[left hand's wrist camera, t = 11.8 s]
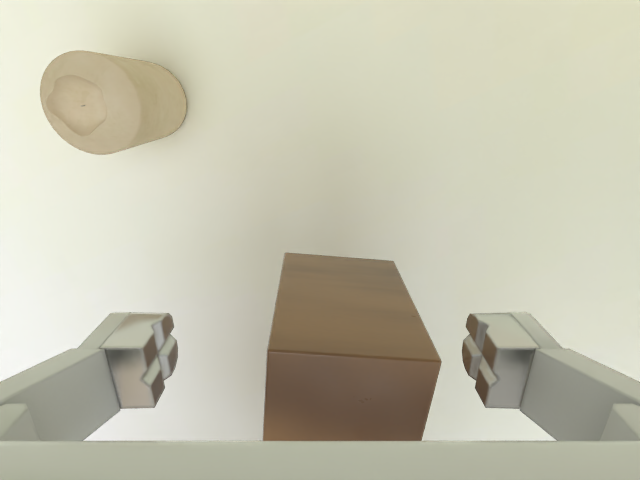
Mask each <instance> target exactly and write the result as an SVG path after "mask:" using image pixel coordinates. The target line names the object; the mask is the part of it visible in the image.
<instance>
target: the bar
mask: <svg viewBox="0 0 640 480" xmlns="http://www.w3.org/2000/svg"><path fill="white" fill-rule="evenodd" d="M440 366H441V359H440V357H439V355H438V353H437V351H436V349H435V347H434V345H433V342H432V340H431V338H430V336H429V334H428V332H427V330H426V328H425V326H424V324H423V322H422V320H421V318H420V315H419V313H418V311H417V309H416V307H415V305H414V303H413V301H412V299H411V297H410V295H409V293H408V290H407V288H406V286H405V284H404V282H403V280H402V278H401V276H400V274H399V272H398V270H397V268H396V266H395V263H394V261H387V260H374V259H361V258H348V257H335V256H322V255H309V254H296V253H285V254H284V260H283V265H282V271H281V276H280V282H279V287H278V293H277V298H276V304H275V310H274V315H273V321H272V326H271V332H270V337H269V343H268V348H267V362H266V383H265V403H264V424H263V441H421V440H422V436H423V433H424V429H425V425H426V421H427V417H428V413H429V409H430V405H431V401H432V397H433V394H434V390H435V386H436V382H437V378H438V374H439V370H440Z"/></svg>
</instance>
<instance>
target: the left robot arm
mask: <svg viewBox="0 0 640 480" xmlns="http://www.w3.org/2000/svg"><path fill="white" fill-rule="evenodd" d="M173 328H174V323H173V319H172V316H171V315H170V314H169V313H138V312H133V313H131V312H115V313H111V314H109V315H108V316H107V318H106V319H105V320H104V321H103V322H102V323H101V324H100V325H99V326H98V327H97V328H96V329H95V330H94V331H93V332H92V333H91V334H90V335H89V337H88V338H87V339H86V340H85V341H84V342H83V343H82V344H81V345H80V346H79V347H78V348H77V349H69V350H67V351H65V352H63V353H61V354H59V355H57V356H54V357H52V358H50V359H48V360H46V361H44V362H42V363H40V364H37V365H35V366H33V367H31V368H29V369H27V370H25V371H23V372H20V373H18V374H16V375H14V376H12V377H10V378H8V379H6V380H3V381H1V382H0V480H640V382H639V381H636V380H634V379H632V378H630V377H628V376H626V375H624V374H622V373H619V372H617V371H615V370H613V369H611V368H609V367H607V366H605V365H602V364H600V363H598V362H596V361H594V360H592V359H590V358H588V357H586V356H583V355H581V354H579V353H577V352H575V351H573V350H571V349H563V348H562V347H561V346H560V345H559V344H558V343H557V342H556V341H555V340H554V339H553V338H552V336H551V335H550V334H549V333H548V332H547V331H546V330H545V329H544V328H543V327H542V326H541V325H540V324H539V323H538V322H537V321H536V320H535V319H534V317H533V316H532V315H531V314H529V313H527V312H512V313H480V314H469V316H468V318H467V323H466V328H467V330H468V331H469V333H470V334H469V335H468V336H467V337H466V338H465V339H464V340H463V347H462V356H463V363H464V366H465V369H466V371H467V373H468V375H469V376H470V377H472V378H473V379H475V380H476V386H475V389H476V391H477V392H478V394H479V396H480V398H481V400H482V402H483V404H484V406H485V408H514V409H520V411H521V412H522V413H524V414H525V415H526V416H527V417H529V418H530V419H531V420H532V421H534V422H535V423H536V424H537V425H538V426H540V427H541V428H542V429H543V430H545V431H546V432H547V433H548V434H550V435H551V436H552V437H553V438H554V439H556V440H557V441H83V440H84V439H86V438H87V437H88V436H89V435H91V434H92V433H93V432H94V431H96V430H97V429H98V428H99V427H100V426H102V425H103V424H104V423H105V422H107V421H108V420H109V419H110V418H112V417H113V416H114V415H115V414H116V413H118V412H119V411H120V409H126V408H155V406H156V404H157V402H158V400H159V398H160V396H161V394H162V392H163V391H164V389H165V386H164V380H165V379H167V378H168V377H170V376H171V375H172V373H173V371H174V369H175V367H176V362H177V358H178V346H177V340H176V339H175V338H174V337H173V336H172V335H171V334H170V333H171V331H172V330H173Z"/></svg>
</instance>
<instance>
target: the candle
mask: <svg viewBox="0 0 640 480" xmlns="http://www.w3.org/2000/svg"><path fill="white" fill-rule="evenodd" d="M40 97H41V103H42V107H43V110H44V113H45V115H46V117H47V119H48V121H49V123H50V124H51V126H52V127H53V129H54V130H55V131H56V132H57V133H58V134H59V135H60V136H61V137H62V138H63V139H64V140H65V141H66V142H68V143H69V144H71V145H72V146H74V147H76V148H77V149H79V150H82V151H84V152H88V153H92V154H98V155H105V154H112V153H115V152H119V151H122V150H125V149H128V148H131V147H135V146H138V145H141V144H144V143H147V142H151V141H154V140H157V139H160V138H163V137H166V136H168V135H170V134H172V133H173V132H175V131H176V130H177V129H178V128H179V127H180V125H181V124H182V122H183V120H184V118H185V115H186V108H187V104H186V97H185V93H184V91H183V88H182V86H181V85H180V83H179V81H178V80H177V79H176V78H175V76H174V75H172V74H171V73H170V72H169V71H168V70H166V69H165V68H163V67H161V66H159V65H157V64H154V63H151V62H146V61H141V60H135V59H129V58H124V57H118V56H112V55H107V54H101V53H95V52H89V51H71V52H67V53H64V54H62V55H60V56H58V57H57V58H55V59H54V60H53V61H52V62H51V63H50V64H49V65H48V67H47V68H46V70H45V72H44V74H43V77H42V80H41V86H40Z"/></svg>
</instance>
